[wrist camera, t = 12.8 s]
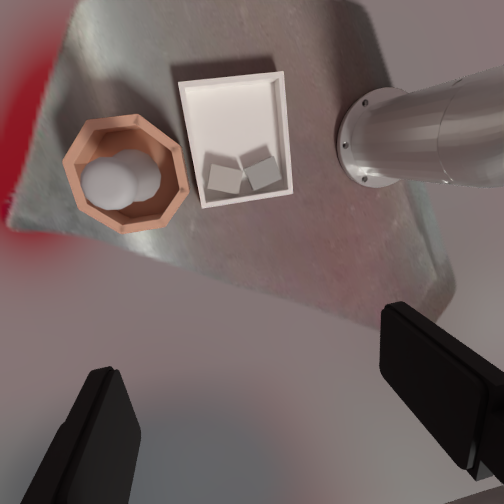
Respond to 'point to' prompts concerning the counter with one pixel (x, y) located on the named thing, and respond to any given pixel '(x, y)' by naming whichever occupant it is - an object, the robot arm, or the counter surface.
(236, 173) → the beige rectangular block
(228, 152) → the tray
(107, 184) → the salt shaker
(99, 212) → the bowl
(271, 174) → the grey rectangular block
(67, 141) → the counter surface
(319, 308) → the counter surface
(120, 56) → the counter surface
